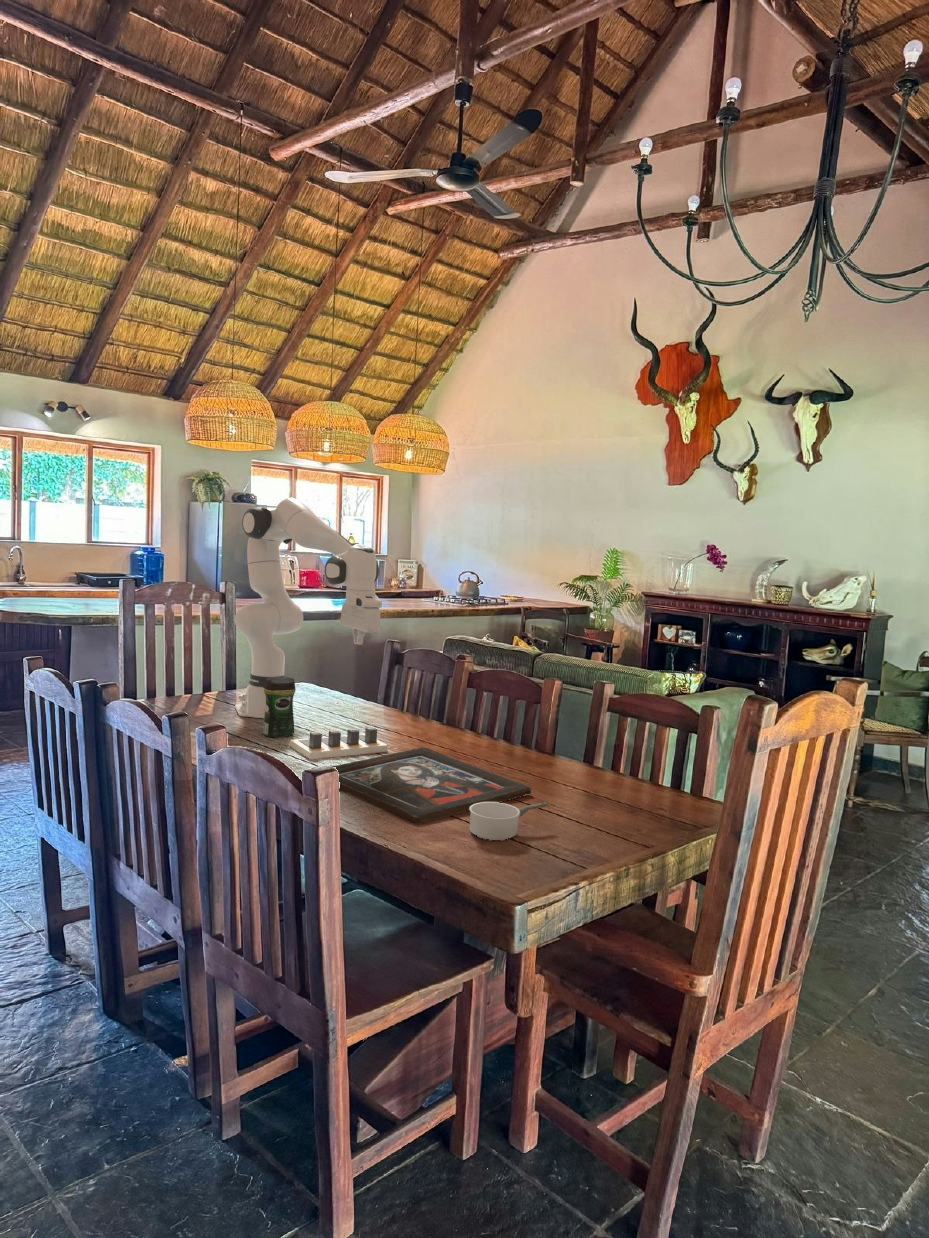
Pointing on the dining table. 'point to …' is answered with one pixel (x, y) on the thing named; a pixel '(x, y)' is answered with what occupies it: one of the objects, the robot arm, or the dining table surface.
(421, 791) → the religious icon
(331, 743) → the block
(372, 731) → the block
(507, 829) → the saucepan
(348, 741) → the block
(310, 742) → the block
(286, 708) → the coffee jar
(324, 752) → the panel
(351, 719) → the dining table surface
